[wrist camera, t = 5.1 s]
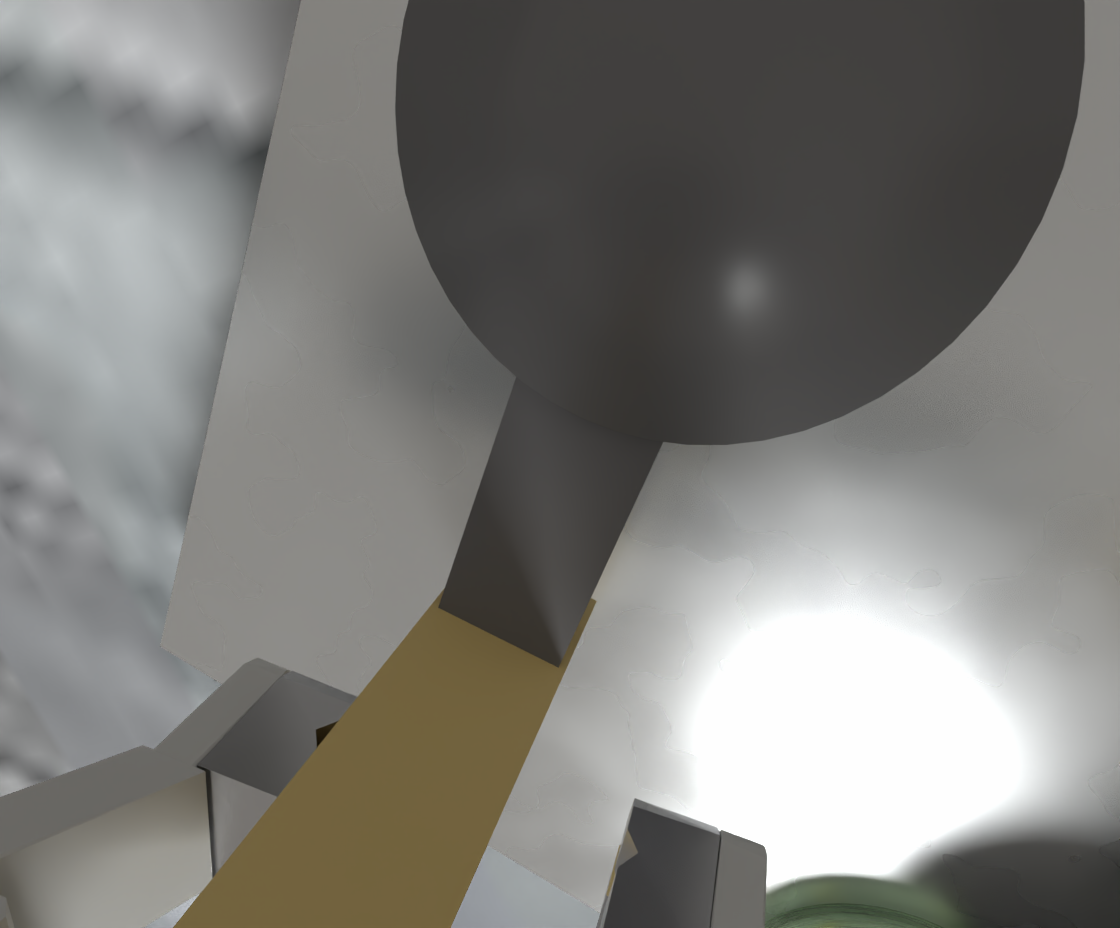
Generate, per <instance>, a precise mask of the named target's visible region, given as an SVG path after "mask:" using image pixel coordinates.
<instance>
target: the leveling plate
mask: <svg viewBox="0 0 1120 928" xmlns="http://www.w3.org/2000/svg"><path fill="white" fill-rule="evenodd" d="M408 1H409V0H301V2H300V7H299V11H298V16H297V20H296V25H295V30H294V34H293V39H292V43H291V48H290V53H289V57H288V62H287V66H286V71H285V76H284V80H283V85H282V89H281V94H280V98H279V103H278V108H277V112H276V117H275V121H274V126H273V131H272V135H271V140H270V144H269V149H268V154H267V158H266V163H265V167H264V172H263V176H262V181H261V186H260V190H259V195H258V199H257V204H256V209H255V213H254V218H253V222H252V227H251V232H250V236H249V241H248V245H247V250H246V254H245V259H244V264H243V268H242V273H241V277H240V282H239V287H238V291H237V296H236V300H235V305H234V310H233V314H232V319H231V323H230V328H229V332H228V337H227V342H226V346H225V351H224V355H223V360H222V365H221V369H220V374H219V378H218V383H217V388H216V392H215V397H214V401H213V406H212V410H211V415H210V420H209V424H208V429H207V433H206V438H205V443H204V447H203V452H202V456H201V461H200V466H199V470H198V475H197V479H196V484H195V488H194V493H193V498H192V502H191V507H190V511H189V516H188V521H187V525H186V530H185V534H184V539H183V544H182V548H181V553H180V557H179V562H178V566H177V571H176V576H175V580H174V585H173V589H172V594H171V599H170V603H169V608H168V612H167V617H166V622H165V626H164V631H163V635H162V640H161V644H160V647H162V648H163V649H165V650H167V651H168V652H170V653H172V654H173V655H175V656H177V657H178V658H180V659H182V660H183V661H185V662H186V663H188V664H190V665H191V666H193V667H195V668H196V669H198V670H200V671H201V672H203V673H205V674H206V675H208V676H210V677H211V678H213V679H214V680H216V681H218V682H219V683H221V684H223V683H224V682H225V681H226V680H227V679H228V678H229V677H230V676H231V675H232V674H233V673H234V672H236V671H237V670H238V669H239V668H240V667H241V666H242V665H243V664H245V663H246V662H249V661H251V660H253V659H255V658H260V659H263V660H265V661H268V662H270V663H273V664H275V665H278V666H281V667H283V668H286V669H288V670H291V671H294V672H297V673H299V674H302V675H304V676H307V677H309V678H312V679H314V680H317V681H319V682H322V683H324V684H327V685H329V686H332V687H334V688H337V689H339V690H342V691H344V692H347V693H349V694H351V695H354V696H356V697H358V696H359V695H360V693H361V692H362V691H363V690H364V688H365V687H366V686H367V685H368V683H369V682H370V681H371V680H372V678H373V677H374V676H375V675H376V673H377V672H378V671H379V670H380V668H381V667H382V666H383V665H384V663H385V662H386V661H387V660H388V658H389V657H390V656H391V655H392V653H393V652H394V651H395V650H396V648H397V647H398V646H399V645H400V643H401V642H402V641H403V640H404V638H405V637H406V636H407V635H408V633H409V632H410V631H411V629H412V628H413V627H414V626H415V624H416V623H417V622H418V621H419V619H420V618H421V617H422V616H423V614H424V613H425V612H426V611H427V609H428V608H429V607H430V606H431V604H432V603H433V602H434V601H435V599H436V598H437V597H438V596H439V594H440V593H441V592H442V591H443V589H444V588H445V586H446V583H447V580H448V577H449V574H450V571H451V568H452V565H453V562H454V559H455V556H456V553H457V550H458V547H459V544H460V541H461V538H462V535H463V533H464V530H465V527H466V524H467V521H468V518H469V515H470V512H471V509H472V506H473V503H474V500H475V497H476V494H477V491H478V488H479V485H480V482H481V479H482V476H483V473H484V470H485V467H486V465H487V462H488V459H489V456H490V453H491V450H492V447H493V444H494V441H495V438H496V435H497V432H498V429H499V426H500V423H501V420H502V417H503V414H504V411H505V408H506V405H507V402H508V399H509V397H510V394H511V391H512V388H513V385H514V382H515V379H516V376H515V375H514V374H513V373H511V372H510V371H509V370H508V369H507V368H506V367H505V366H504V365H502V364H501V363H500V362H499V361H498V360H497V359H496V358H495V357H494V356H493V355H492V354H491V353H490V352H489V351H488V350H487V348H486V347H485V346H484V345H483V344H482V343H481V342H480V341H479V339H478V338H477V337H476V336H475V335H474V334H473V333H472V332H471V331H470V329H469V328H468V326H467V325H466V323H465V322H464V321H463V319H462V318H461V316H460V315H459V314H458V312H457V311H456V309H455V308H454V306H453V305H452V304H451V302H450V301H449V299H448V297H447V295H446V294H445V292H444V290H443V288H442V286H441V285H440V283H439V281H438V279H437V277H436V275H435V274H434V272H433V270H432V268H431V266H430V264H429V261H428V259H427V256H426V254H425V252H424V249H423V247H422V244H421V242H420V239H419V237H418V234H417V232H416V229H415V226H414V222H413V219H412V215H411V212H410V208H409V205H408V201H407V198H406V194H405V190H404V184H403V179H402V173H401V167H400V161H399V156H398V147H397V132H396V116H395V97H396V73H397V60H398V54H399V47H400V40H401V34H402V27H403V21H404V16H405V12H406V9H407V5H408ZM1084 2H1085V63H1084V70H1083V78H1082V85H1081V93H1080V100H1079V107H1078V115H1077V119H1076V123H1075V127H1074V130H1073V134H1072V138H1071V141H1070V145H1069V149H1068V152H1067V156H1066V160H1065V164H1064V167H1063V170H1062V173H1061V175H1060V178H1059V180H1058V183H1057V185H1056V187H1055V190H1054V192H1053V195H1052V197H1051V200H1050V202H1049V205H1048V207H1047V209H1046V212H1045V214H1044V217H1043V219H1042V221H1041V223H1040V225H1039V226H1038V228H1037V230H1036V232H1035V233H1034V235H1033V237H1032V239H1031V241H1030V242H1029V244H1028V246H1027V248H1026V249H1025V251H1024V253H1023V255H1022V257H1021V258H1020V260H1019V262H1018V264H1017V265H1016V267H1015V268H1014V269H1013V271H1012V272H1011V274H1010V275H1009V276H1008V278H1007V279H1006V280H1005V282H1004V283H1003V285H1002V286H1001V287H1000V289H999V290H998V291H997V293H996V294H995V296H994V297H993V298H992V300H991V301H990V302H989V304H988V305H987V306H986V307H985V308H984V310H983V311H982V312H981V313H980V314H979V315H978V316H977V317H976V318H975V319H974V320H973V321H972V323H971V324H970V325H969V326H968V327H967V328H966V329H965V330H964V331H963V332H962V333H961V334H960V335H959V337H958V338H957V339H956V340H955V341H954V342H953V343H952V344H950V345H949V346H948V347H947V348H946V349H944V350H943V351H942V352H941V353H940V354H939V355H937V356H936V357H935V358H934V359H933V360H932V361H930V362H929V363H928V364H927V365H926V366H925V367H923V368H922V369H921V370H920V371H919V372H917V373H916V374H914V375H913V376H911V377H910V378H908V379H907V380H905V381H904V382H902V383H901V384H899V385H898V386H896V387H895V388H893V389H892V390H890V391H889V392H887V393H886V394H884V395H883V396H881V397H880V398H878V399H876V400H874V401H872V402H870V403H868V404H866V405H864V406H862V407H860V408H858V409H856V410H854V411H852V412H850V413H848V414H846V415H844V416H843V417H840V418H837V419H834V420H832V421H829V422H826V423H824V424H821V425H818V426H816V427H813V428H810V429H808V430H805V431H802V432H797V433H793V434H789V435H785V436H781V437H777V438H772V439H768V440H764V441H756V442H747V443H739V444H730V445H685V444H677V443H669V442H663V444H662V446H661V448H660V450H659V452H658V455H657V457H656V459H655V461H654V463H653V465H652V468H651V470H650V472H649V474H648V476H647V478H646V480H645V483H644V485H643V487H642V489H641V491H640V493H639V496H638V498H637V500H636V502H635V504H634V506H633V508H632V511H631V513H630V515H629V517H628V519H627V521H626V524H625V526H624V528H623V530H622V532H621V534H620V536H619V539H618V541H617V543H616V545H615V547H614V549H613V552H612V554H611V556H610V558H609V560H608V562H607V564H606V567H605V569H604V571H603V573H602V575H601V577H600V580H599V582H598V584H597V586H596V588H595V590H594V592H593V595H592V597H591V598H592V599H594V600H596V601H597V602H596V604H595V606H594V608H593V611H592V613H591V615H590V617H589V620H588V622H587V624H586V626H585V628H584V631H583V633H582V635H581V637H580V640H579V642H578V644H577V646H576V649H575V651H574V653H573V655H572V657H571V660H570V662H569V664H568V666H567V669H566V671H565V673H564V675H563V678H562V680H561V682H560V684H559V686H558V689H557V691H556V693H555V695H554V698H553V700H552V702H551V704H550V707H549V709H548V711H547V713H546V716H545V718H544V720H543V722H542V724H541V727H540V729H539V731H538V733H537V736H536V738H535V740H534V742H533V745H532V747H531V749H530V751H529V753H528V756H527V758H526V760H525V762H524V765H523V767H522V769H521V771H520V774H519V776H518V778H517V780H516V782H515V785H514V787H513V789H512V791H511V794H510V796H509V798H508V800H507V803H506V805H505V807H504V809H503V812H502V814H501V816H500V818H499V820H498V823H497V825H496V827H495V829H494V832H493V834H492V836H491V838H490V841H489V843H488V846H490V847H492V848H493V849H495V850H497V851H498V852H500V853H501V854H503V855H505V856H506V857H508V858H510V859H511V860H513V861H515V862H516V863H518V864H520V865H521V866H523V867H525V868H526V869H528V870H529V871H531V872H533V873H534V874H536V875H538V876H539V877H541V878H543V879H544V880H546V881H548V882H549V883H551V884H553V885H554V886H556V887H558V888H559V889H561V890H562V891H564V892H566V893H567V894H569V895H571V896H572V897H574V898H576V899H577V900H579V901H581V902H582V903H584V904H586V905H587V906H589V907H591V908H592V909H594V910H595V911H597V912H599V913H600V912H601V908H602V904H603V900H604V896H605V893H606V889H607V885H608V882H609V879H610V876H611V872H612V869H613V866H614V862H615V859H616V855H617V852H618V848H619V845H621V842H622V838H623V834H624V830H625V827H626V823H627V819H628V816H629V813H630V810H631V807H632V804H633V801H634V798H636V799H639V800H642V801H645V802H647V803H650V804H653V805H656V806H659V807H661V808H664V809H667V810H670V811H673V812H676V813H678V814H681V815H684V816H687V817H690V818H692V819H695V820H698V821H701V822H704V823H706V824H709V825H712V826H715V827H718V830H724V831H727V832H729V833H732V834H735V835H738V836H740V837H743V838H746V839H748V840H751V841H754V842H757V843H759V844H762V845H765V848H766V851H767V854H768V861H767V884H766V907H765V928H1120V0H1084Z"/></svg>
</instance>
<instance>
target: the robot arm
mask: <svg viewBox="0 0 1120 928" xmlns="http://www.w3.org/2000/svg"><path fill="white" fill-rule="evenodd" d="M356 698H357V697H356V696H354V695H351V694H349V693H347V692H344V691H342V690H339V689H337V688H334V687H332V686H329V685H327V684H324V683H322V682H319V681H317V680H314V679H312V678H309V677H307V676H304V675H302V674H299V673H297V672H294V671H291V670H288V669H286V668H283V667H281V666H278V665H275V664H273V663H270V662H268V661H265V660H263V659H260V658H255V659H253V660H251V661H249V662H246V663H245V664H243V665H242V666H241V667H240V668H239V669H238V670H237V671H236V672H234V673H233V674H232V675H231V676H230V677H229V678H228V679H227V680H226V681H225V682H224V683H223V684H222V685H221V686H220V687H219V688H218V689H217V690H216V691H214V692H213V693H212V694H211V695H210V696H209V697H208V698H207V699H206V700H205V701H204V702H203V703H202V704H201V705H200V706H199V707H198V708H197V709H196V710H194V711H193V712H192V713H191V714H190V715H189V716H188V717H187V718H186V719H185V720H184V721H183V722H182V723H181V724H180V725H179V726H178V727H177V728H176V729H174V730H173V731H172V732H171V733H170V734H169V735H168V736H167V737H166V738H165V739H164V740H163V741H162V742H161V743H160V744H159V745H158V746H157V747H156V748H154V749H151V748H149V747H146V746H143V745H142V746H140V747H137V748H134V749H131V750H129V751H126V752H123V753H120V754H118V755H115V756H112V757H109V758H107V759H104V760H101V761H98V762H96V763H93V764H90V765H87V766H85V767H82V768H79V769H76V770H74V771H71V772H68V773H65V774H63V775H60V776H57V777H55V778H52V779H49V780H46V781H44V782H41V783H38V784H35V785H33V786H30V787H27V788H24V789H22V790H19V791H16V792H13V793H11V794H8V795H5V796H2V797H0V928H143V927H145V926H146V925H148V924H150V923H151V922H153V921H155V920H156V919H158V918H160V917H161V916H163V915H165V914H166V913H168V912H170V911H171V910H173V909H174V908H176V907H178V906H179V905H181V904H183V903H184V902H186V901H188V900H189V899H191V898H193V897H194V896H196V895H198V894H199V893H201V892H202V891H203V890H204V888H205V887H206V886H207V885H208V883H209V882H210V881H211V880H212V878H213V877H214V876H215V875H216V873H217V872H218V871H219V870H220V868H221V867H222V866H223V865H224V863H225V862H226V861H227V860H228V858H229V857H230V856H231V855H232V853H233V852H234V851H235V850H236V848H237V847H238V846H239V845H240V843H241V842H242V841H243V840H244V838H245V837H246V836H247V835H248V833H249V832H250V831H251V830H252V828H253V827H254V826H255V825H256V823H257V822H258V821H259V820H260V818H261V817H262V816H263V815H264V813H265V812H266V811H267V810H268V808H269V807H270V806H271V805H272V803H273V802H274V801H275V800H276V798H277V797H278V796H279V795H280V793H281V792H282V791H283V790H284V788H285V787H286V786H287V785H288V783H289V782H290V781H291V780H292V778H293V777H294V776H295V775H296V773H297V772H298V771H299V770H300V768H301V767H302V766H303V765H304V763H305V762H306V761H307V760H308V758H309V757H310V756H311V755H312V753H313V752H314V751H315V750H316V748H317V747H318V746H319V745H320V743H321V742H322V741H323V740H324V738H325V737H326V736H327V735H328V733H329V732H330V731H331V730H332V728H333V727H334V726H335V725H336V723H337V722H338V721H339V720H340V718H341V717H342V716H343V715H344V713H345V712H346V711H347V710H348V708H349V707H350V706H351V705H352V703H353V702H354V701H355V700H356ZM767 861H768V854H767V851H766V848H765V845H762V844H759V843H757V842H754V841H751V840H748V839H746V838H743V837H740V836H738V835H735V834H732V833H729V832H727V831H724V830H718V827H715V826H712V825H709V824H706V823H704V822H701V821H698V820H695V819H692V818H690V817H687V816H684V815H681V814H678V813H676V812H673V811H670V810H667V809H664V808H661V807H659V806H656V805H653V804H650V803H647V802H645V801H642V800H639V799H636V798H634V801H633V804H632V807H631V810H630V813H629V816H628V819H627V823H626V827H625V830H624V834H623V838H622V842H621V845H619V848H618V852H617V855H616V859H615V862H614V866H613V869H612V872H611V876H610V879H609V882H608V885H607V889H606V893H605V896H604V900H603V904H602V908H601V912H600V916H599V919H598V923H597V927H596V928H765V907H766V884H767Z"/></svg>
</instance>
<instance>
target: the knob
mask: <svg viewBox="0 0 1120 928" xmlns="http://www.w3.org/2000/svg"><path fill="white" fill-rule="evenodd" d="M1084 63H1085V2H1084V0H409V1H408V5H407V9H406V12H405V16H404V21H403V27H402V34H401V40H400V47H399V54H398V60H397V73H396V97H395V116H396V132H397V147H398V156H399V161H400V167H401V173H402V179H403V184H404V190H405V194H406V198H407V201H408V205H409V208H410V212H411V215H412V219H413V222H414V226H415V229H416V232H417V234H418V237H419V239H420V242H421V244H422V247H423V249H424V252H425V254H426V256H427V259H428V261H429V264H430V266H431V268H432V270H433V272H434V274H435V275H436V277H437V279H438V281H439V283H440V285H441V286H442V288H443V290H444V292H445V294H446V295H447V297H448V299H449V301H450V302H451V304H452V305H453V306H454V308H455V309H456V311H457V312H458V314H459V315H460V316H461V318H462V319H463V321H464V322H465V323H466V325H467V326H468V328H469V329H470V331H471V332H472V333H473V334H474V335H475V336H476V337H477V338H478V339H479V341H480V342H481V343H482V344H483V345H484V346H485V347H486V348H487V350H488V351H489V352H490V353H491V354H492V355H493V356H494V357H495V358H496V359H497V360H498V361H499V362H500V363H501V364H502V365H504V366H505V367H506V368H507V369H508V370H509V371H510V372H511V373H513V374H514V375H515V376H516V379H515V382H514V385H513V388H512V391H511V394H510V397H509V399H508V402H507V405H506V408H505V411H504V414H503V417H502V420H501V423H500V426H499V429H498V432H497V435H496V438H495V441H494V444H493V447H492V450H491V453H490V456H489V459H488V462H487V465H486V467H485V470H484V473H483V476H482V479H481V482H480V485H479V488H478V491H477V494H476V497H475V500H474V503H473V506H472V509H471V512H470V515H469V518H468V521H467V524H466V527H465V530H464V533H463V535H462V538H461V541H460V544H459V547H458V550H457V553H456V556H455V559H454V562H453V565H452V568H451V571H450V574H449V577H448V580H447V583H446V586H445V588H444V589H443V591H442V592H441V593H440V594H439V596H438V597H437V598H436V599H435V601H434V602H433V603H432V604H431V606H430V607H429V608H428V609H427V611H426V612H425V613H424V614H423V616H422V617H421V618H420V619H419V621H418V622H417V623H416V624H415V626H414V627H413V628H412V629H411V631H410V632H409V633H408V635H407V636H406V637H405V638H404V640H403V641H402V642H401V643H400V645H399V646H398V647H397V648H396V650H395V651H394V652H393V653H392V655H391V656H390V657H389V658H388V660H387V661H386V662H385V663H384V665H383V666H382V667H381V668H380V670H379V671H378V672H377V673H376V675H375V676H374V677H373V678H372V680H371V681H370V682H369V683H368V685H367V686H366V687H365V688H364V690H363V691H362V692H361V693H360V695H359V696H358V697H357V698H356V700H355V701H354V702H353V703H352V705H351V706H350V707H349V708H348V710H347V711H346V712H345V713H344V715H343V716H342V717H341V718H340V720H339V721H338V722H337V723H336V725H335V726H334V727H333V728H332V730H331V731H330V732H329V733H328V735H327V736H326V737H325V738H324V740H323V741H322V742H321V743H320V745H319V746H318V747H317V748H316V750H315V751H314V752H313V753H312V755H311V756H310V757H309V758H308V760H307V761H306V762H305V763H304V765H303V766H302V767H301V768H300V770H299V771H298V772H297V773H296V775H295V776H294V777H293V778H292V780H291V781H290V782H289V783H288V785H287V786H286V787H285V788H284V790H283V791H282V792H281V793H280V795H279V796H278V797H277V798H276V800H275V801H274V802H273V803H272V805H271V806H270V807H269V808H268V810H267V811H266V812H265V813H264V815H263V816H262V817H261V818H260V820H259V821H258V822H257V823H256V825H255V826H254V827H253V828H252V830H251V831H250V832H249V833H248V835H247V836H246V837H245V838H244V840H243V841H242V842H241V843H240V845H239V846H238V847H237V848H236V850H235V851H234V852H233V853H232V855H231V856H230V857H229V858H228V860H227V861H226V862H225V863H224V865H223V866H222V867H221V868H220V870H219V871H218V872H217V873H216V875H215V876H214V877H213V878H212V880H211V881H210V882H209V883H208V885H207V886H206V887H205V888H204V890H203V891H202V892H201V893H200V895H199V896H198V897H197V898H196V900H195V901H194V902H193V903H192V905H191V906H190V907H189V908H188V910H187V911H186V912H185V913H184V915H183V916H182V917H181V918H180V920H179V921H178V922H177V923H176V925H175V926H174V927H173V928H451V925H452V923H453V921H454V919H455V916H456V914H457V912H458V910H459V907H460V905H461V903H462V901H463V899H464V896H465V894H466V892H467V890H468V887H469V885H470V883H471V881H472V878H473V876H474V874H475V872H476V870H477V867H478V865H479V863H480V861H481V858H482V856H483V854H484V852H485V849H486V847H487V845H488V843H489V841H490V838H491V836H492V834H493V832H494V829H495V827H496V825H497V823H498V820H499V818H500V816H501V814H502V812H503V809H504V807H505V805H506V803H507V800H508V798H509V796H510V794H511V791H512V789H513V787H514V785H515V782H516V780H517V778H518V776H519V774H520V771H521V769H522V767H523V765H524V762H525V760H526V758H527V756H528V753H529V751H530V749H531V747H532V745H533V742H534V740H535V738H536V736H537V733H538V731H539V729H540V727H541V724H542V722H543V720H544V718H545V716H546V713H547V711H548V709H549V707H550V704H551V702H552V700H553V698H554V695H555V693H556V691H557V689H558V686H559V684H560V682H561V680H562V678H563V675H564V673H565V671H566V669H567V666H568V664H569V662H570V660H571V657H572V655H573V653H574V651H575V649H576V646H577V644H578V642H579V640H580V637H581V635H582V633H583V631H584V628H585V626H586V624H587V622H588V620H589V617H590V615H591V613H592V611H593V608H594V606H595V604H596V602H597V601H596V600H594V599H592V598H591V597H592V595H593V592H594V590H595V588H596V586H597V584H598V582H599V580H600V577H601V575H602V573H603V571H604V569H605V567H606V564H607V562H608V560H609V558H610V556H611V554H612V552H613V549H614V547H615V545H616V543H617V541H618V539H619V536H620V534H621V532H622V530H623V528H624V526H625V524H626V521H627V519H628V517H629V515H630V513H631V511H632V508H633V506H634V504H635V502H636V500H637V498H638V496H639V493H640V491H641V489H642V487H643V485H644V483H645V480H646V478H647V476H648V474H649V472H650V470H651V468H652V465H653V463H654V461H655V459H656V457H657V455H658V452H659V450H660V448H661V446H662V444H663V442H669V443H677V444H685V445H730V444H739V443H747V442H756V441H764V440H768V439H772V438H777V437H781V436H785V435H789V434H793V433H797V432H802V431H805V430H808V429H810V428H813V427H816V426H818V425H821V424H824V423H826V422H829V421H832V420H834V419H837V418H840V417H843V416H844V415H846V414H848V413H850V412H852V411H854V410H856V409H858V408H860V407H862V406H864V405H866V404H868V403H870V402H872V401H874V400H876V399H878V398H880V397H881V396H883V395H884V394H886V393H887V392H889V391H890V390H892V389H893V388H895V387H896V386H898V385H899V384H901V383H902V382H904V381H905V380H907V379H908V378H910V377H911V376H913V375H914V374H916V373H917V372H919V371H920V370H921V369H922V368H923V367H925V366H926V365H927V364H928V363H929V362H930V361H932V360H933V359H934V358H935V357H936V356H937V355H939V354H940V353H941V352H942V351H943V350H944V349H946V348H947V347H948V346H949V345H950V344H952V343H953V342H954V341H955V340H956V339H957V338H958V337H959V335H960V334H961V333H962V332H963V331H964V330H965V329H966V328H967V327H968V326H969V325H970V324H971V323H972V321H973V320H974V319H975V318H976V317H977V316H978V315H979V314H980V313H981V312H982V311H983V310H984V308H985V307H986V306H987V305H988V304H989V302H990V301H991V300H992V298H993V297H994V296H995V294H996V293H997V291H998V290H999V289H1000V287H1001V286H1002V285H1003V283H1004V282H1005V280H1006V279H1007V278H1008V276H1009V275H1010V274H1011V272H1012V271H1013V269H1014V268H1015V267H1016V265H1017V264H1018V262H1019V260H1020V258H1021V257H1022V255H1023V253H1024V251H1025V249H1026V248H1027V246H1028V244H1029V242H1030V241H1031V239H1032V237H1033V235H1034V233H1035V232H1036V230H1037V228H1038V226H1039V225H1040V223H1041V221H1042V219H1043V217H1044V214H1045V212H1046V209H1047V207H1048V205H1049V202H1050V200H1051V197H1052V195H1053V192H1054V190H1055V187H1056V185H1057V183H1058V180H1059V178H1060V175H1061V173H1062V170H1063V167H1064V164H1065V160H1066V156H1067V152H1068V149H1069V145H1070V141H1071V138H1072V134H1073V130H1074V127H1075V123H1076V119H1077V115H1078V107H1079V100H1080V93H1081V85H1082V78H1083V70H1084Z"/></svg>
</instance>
